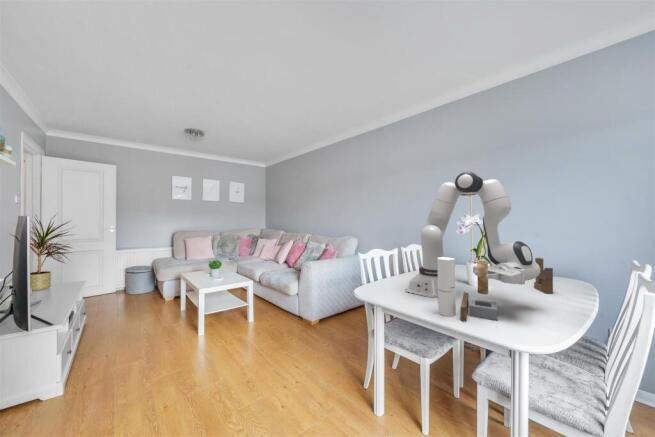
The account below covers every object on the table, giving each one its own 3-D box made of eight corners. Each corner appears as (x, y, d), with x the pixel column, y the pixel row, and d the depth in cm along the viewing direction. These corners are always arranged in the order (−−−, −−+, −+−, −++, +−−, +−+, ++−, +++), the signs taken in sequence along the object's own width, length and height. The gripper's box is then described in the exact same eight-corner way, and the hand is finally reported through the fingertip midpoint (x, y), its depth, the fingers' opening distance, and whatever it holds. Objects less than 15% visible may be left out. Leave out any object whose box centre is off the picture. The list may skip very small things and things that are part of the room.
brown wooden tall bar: (477, 293, 109) (477, 261, 109) (477, 290, 113) (477, 260, 113) (488, 294, 107) (487, 262, 107) (488, 292, 111) (487, 261, 111)
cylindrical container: (459, 315, 110) (458, 259, 110) (446, 317, 108) (445, 260, 108) (447, 309, 117) (446, 256, 117) (434, 311, 115) (433, 257, 115)
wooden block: (545, 293, 135) (545, 260, 135) (533, 287, 146) (533, 257, 145) (553, 294, 134) (553, 261, 134) (541, 288, 145) (540, 257, 144)
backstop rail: (460, 320, 104) (460, 306, 104) (464, 304, 123) (463, 292, 123) (466, 321, 103) (466, 307, 103) (468, 304, 122) (468, 292, 122)
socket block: (469, 316, 109) (469, 305, 109) (470, 309, 117) (470, 298, 117) (497, 321, 103) (497, 309, 103) (496, 313, 112) (495, 302, 112)
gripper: (486, 261, 123) (463, 263, 120) (528, 270, 103) (501, 273, 100) (486, 274, 123) (463, 276, 120) (528, 285, 103) (501, 288, 100)
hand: (480, 275), depth 110 cm, fingers closed on brown wooden tall bar, 4 cm apart
